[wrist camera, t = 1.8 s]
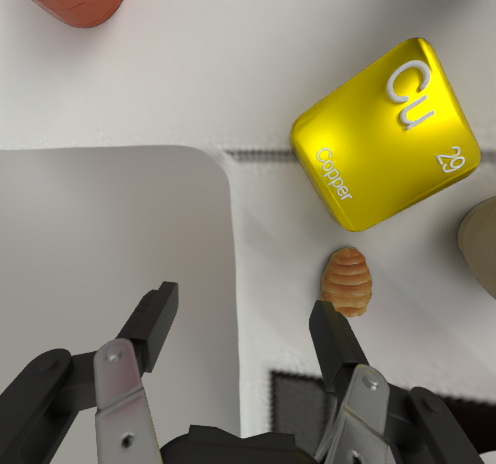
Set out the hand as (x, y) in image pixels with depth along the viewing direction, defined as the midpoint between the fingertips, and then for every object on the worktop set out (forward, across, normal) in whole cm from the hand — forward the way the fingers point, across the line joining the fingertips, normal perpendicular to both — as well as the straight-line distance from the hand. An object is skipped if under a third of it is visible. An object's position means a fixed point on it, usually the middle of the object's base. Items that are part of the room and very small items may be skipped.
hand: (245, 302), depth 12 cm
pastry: (+16, -15, +9) cm, 23 cm away
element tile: (+19, -14, -8) cm, 25 cm away
